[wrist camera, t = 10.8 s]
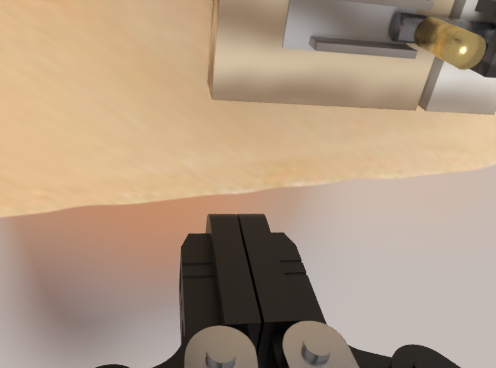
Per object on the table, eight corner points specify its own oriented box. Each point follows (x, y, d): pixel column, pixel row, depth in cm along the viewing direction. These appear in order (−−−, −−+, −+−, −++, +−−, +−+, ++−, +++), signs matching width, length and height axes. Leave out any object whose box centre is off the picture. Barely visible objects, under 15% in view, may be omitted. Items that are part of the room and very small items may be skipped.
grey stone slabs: (221, -113, 29) (238, -118, 23) (535, -64, 35) (622, -57, 28) (207, 82, 37) (216, 120, 30) (467, 98, 42) (524, 134, 35)
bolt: (395, 8, 31) (447, 31, 26) (510, 21, 33) (582, 44, 28) (386, 39, 32) (434, 67, 27) (498, 49, 35) (565, 77, 29)
